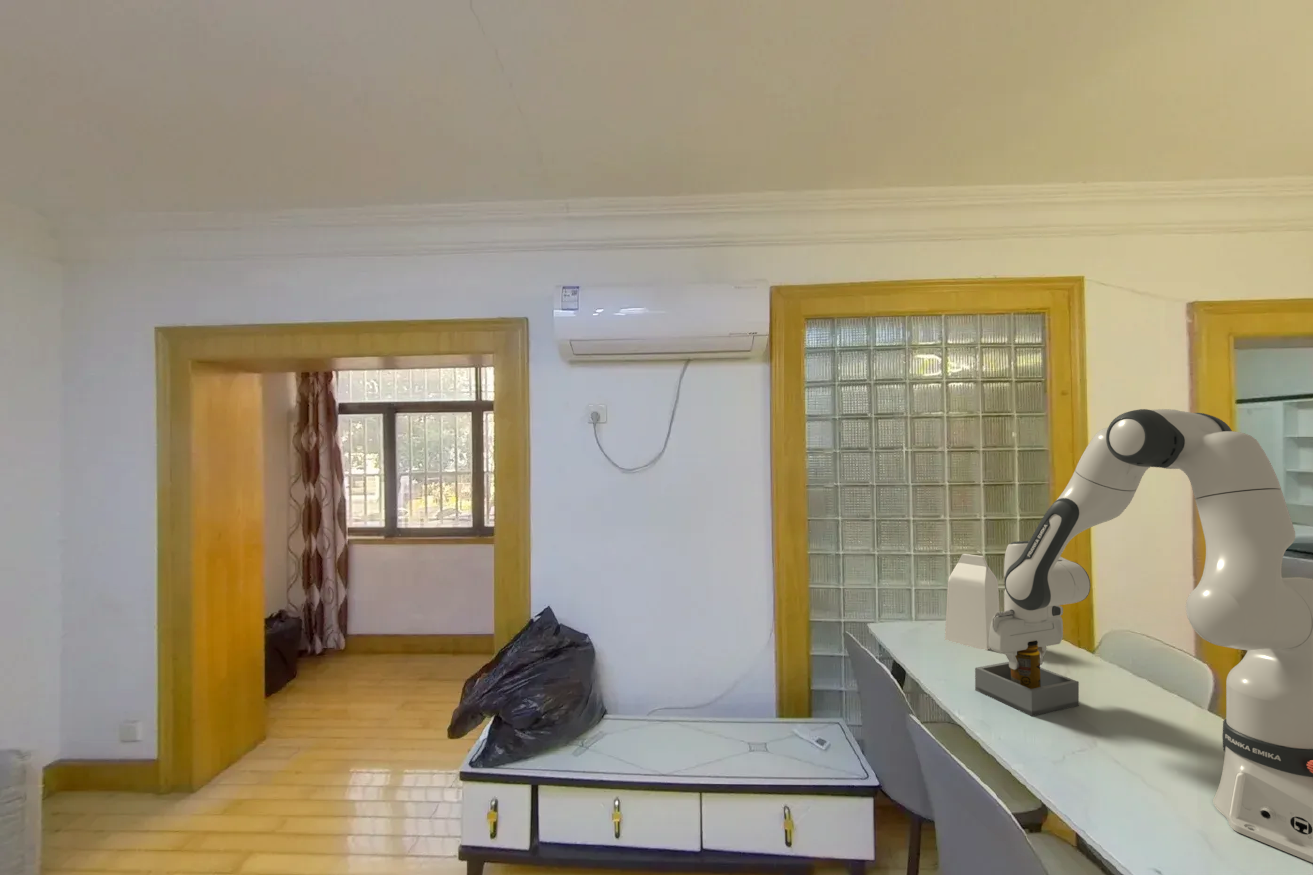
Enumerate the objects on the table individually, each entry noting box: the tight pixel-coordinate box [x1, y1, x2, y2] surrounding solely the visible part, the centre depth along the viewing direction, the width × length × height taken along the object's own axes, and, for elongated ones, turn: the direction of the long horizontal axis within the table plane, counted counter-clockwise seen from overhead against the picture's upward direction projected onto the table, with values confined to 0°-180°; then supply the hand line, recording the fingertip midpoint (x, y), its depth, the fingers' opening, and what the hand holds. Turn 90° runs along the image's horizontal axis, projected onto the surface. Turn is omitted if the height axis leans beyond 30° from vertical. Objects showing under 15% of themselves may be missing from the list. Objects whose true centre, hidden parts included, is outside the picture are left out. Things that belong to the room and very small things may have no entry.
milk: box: [944, 553, 1000, 651], centre depth 187 cm, size 12×12×26 cm
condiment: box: [1011, 641, 1041, 689], centre depth 147 cm, size 7×8×12 cm
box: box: [974, 661, 1080, 717], centre depth 147 cm, size 15×15×6 cm
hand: (1025, 666), depth 147 cm, fingers closed on condiment, 6 cm apart
